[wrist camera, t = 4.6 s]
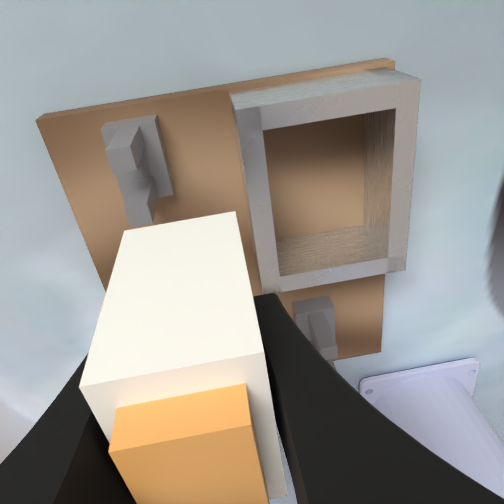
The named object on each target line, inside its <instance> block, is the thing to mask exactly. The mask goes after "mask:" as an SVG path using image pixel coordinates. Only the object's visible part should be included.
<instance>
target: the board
mask: <svg viewBox="0 0 504 504" xmlns="http://www.w3.org/2000/svg"><path fill="white" fill-rule="evenodd" d="M381 67H387V68H390V69H393V70H395V61H394V60H390V59H387V58H382V59H376V60H370V61H364V62H358V63H352V64H345V65H339V66H333V67H327V68H321V69H315V70H309V71H303V72H297V73H291V74H285V75H278V76H272V77H266V78H260V79H254V80H248V81H242V82H236V83H230V84H224V85H218V86H211V87H205V88H199V89H193V90H187V91H181V92H175V93H169V94H163V95H157V96H151V97H144V98H138V99H132V100H126V101H120V102H114V103H108V104H102V105H96V106H90V107H84V108H77V109H71V110H65V111H59V112H53V113H47V114H43V115H42V116H40V117H39V118H38V119H36V123H37V125H38V128H39V130H40V133H41V135H42V137H43V140H44V142H45V145H46V147H47V150H48V152H49V155H50V157H51V159H52V162H53V164H54V167H55V169H56V172H57V174H58V177H59V179H60V181H61V184H62V186H63V189H64V191H65V194H66V196H67V199H68V201H69V203H70V206H71V208H72V211H73V213H74V216H75V218H76V221H77V223H78V225H79V228H80V230H81V233H82V235H83V238H84V240H85V242H86V245H87V247H88V250H89V252H90V255H91V257H92V260H93V262H94V264H95V267H96V269H97V272H98V274H99V277H100V279H101V282H102V284H103V286H104V289H105V291H106V292H107V288H108V285H109V281H110V278H111V275H112V271H113V268H114V264H115V261H116V257H117V254H118V250H119V247H120V244H121V240H122V237H123V233H124V231H125V230H131V229H136V228H142V227H148V226H153V225H159V224H165V223H170V222H176V221H182V220H187V219H193V218H199V217H205V216H210V215H216V214H222V213H227V212H233V211H235V212H236V217H237V222H238V227H239V232H240V237H241V242H242V247H243V251H244V256H245V261H246V266H247V271H248V276H249V281H250V286H251V290H252V295H253V296H258V295H263V293H262V288H261V284H260V280H259V276H258V271H257V267H256V263H255V258H254V252H253V246H252V239H251V233H250V226H249V220H248V213H247V207H246V200H245V194H244V188H243V181H242V175H241V168H240V162H239V155H238V149H237V142H236V136H235V130H234V123H233V117H232V110H231V104H230V97H229V92H235V91H241V90H247V89H253V88H260V87H266V86H272V85H278V84H284V83H290V82H296V81H302V80H308V79H314V78H320V77H326V76H332V75H338V74H344V73H351V72H357V71H363V70H369V69H375V68H381ZM154 114H157V118H158V122H159V126H160V130H161V133H162V137H163V141H164V145H165V149H166V153H167V157H168V161H169V165H170V169H171V173H172V177H173V181H174V185H175V186H174V195H169V196H163V197H158V199H157V205H156V210H155V215H154V220H153V223H152V224H147V225H141V226H135V227H130V224H129V221H128V218H127V215H126V212H125V209H124V205H125V203H124V200H123V197H122V194H121V191H120V188H119V184H118V181H117V178H116V175H115V174H113V173H112V170H111V167H110V164H109V161H108V158H107V155H106V152H105V149H106V145H105V142H104V139H103V136H102V133H101V130H100V129H101V128H102V127H103V125H104V124H105V123H106V122H112V121H118V120H124V119H130V118H136V117H142V116H148V115H154ZM364 119H365V113H364V114H358V115H352V116H346V117H340V118H334V119H328V120H322V121H316V122H310V123H304V124H298V125H292V126H286V127H280V128H274V129H268V130H262V131H263V139H264V148H265V156H266V164H267V173H268V181H269V190H270V198H271V207H272V215H273V223H274V232H275V240H278V239H283V238H289V237H295V236H300V235H306V234H312V233H317V232H323V231H329V230H334V229H340V228H346V227H351V226H357V225H363V191H364ZM384 278H385V274H379V275H374V276H368V277H363V278H357V279H352V280H346V281H341V282H335V283H330V284H324V285H318V286H313V287H307V288H302V289H296V290H291V291H285V292H280V293H274V294H276V295H278V297H279V299H280V301H281V303H282V304H283V306H284V308H285V309H286V311H287V312H288V314H289V315H290V317H291V318H292V320H293V321H294V317H293V308H292V302H295V301H301V300H306V299H312V298H317V297H323V296H328V295H329V297H330V299H331V301H332V303H333V305H334V310H335V341H336V344H337V348H338V358H336V359H332V360H333V361H335V360H340V359H345V358H351V357H356V356H361V355H367V354H372V353H378V352H381V339H382V318H383V298H384Z"/></svg>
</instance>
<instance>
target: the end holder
mask: <svg viewBox="0 0 504 504" xmlns="http://www.w3.org/2000/svg"><path fill="white" fill-rule="evenodd" d="M420 86H421V79H419V78H416V77H413V76H411V75H408V74H405V73H402V72H399V71H396V70H393V69H390V68H387V67H381V68H375V69H369V70H363V71H357V72H351V73H344V74H338V75H332V76H326V77H320V78H314V79H308V80H302V81H296V82H290V83H284V84H278V85H272V86H266V87H260V88H253V89H247V90H241V91H235V92H229V97H230V104H231V110H232V117H233V123H234V130H235V136H236V142H237V149H238V155H239V162H240V168H241V175H242V181H243V188H244V194H245V200H246V207H247V213H248V220H249V226H250V233H251V239H252V246H253V252H254V258H255V263H256V267H257V271H258V276H259V280H260V284H261V288H262V293H263V294H269V293H280V292H285V291H291V290H296V289H302V288H307V287H313V286H318V285H324V284H330V283H335V282H341V281H346V280H352V279H357V278H363V277H368V276H374V275H379V274H385V273H390V272H396V271H401V270H405V268H406V256H407V244H408V232H409V220H410V208H411V196H412V183H413V171H414V159H415V147H416V135H417V123H418V111H419V99H420ZM364 113H365V119H364V191H363V225H357V226H351V227H346V228H340V229H334V230H329V231H323V232H317V233H312V234H306V235H300V236H295V237H289V238H283V239H278V240H275V232H274V223H273V215H272V207H271V198H270V190H269V181H268V173H267V164H266V156H265V148H264V139H263V131H262V130H268V129H274V128H280V127H286V126H292V125H298V124H304V123H310V122H316V121H322V120H328V119H334V118H340V117H346V116H352V115H358V114H364Z"/></svg>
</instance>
